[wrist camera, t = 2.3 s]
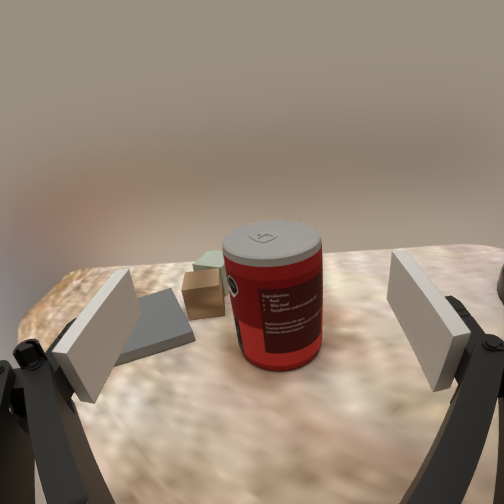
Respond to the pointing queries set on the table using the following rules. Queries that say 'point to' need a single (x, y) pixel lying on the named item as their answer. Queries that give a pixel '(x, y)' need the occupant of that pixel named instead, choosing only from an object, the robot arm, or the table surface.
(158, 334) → the plate
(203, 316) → the teak block
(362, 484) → the table surface
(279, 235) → the canned food
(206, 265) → the sage painted block
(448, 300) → the robot arm
